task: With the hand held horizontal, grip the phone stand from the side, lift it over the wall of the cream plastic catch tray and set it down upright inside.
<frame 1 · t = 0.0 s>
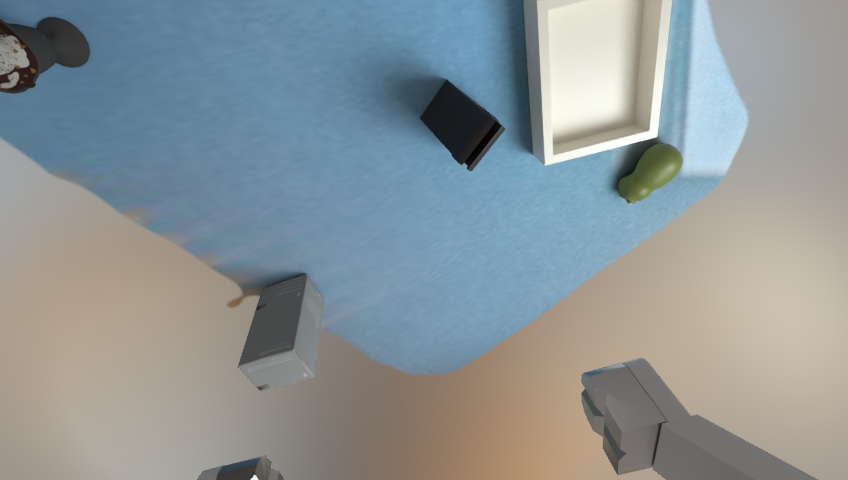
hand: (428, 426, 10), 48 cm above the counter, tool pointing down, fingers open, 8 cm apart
phone stand: (458, 117, 55), on the counter
sundae: (65, 43, 44), on the counter
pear: (638, 169, 63), on the counter
skincare box: (293, 295, 66), on the counter
catch tray: (586, 70, 54), on the counter
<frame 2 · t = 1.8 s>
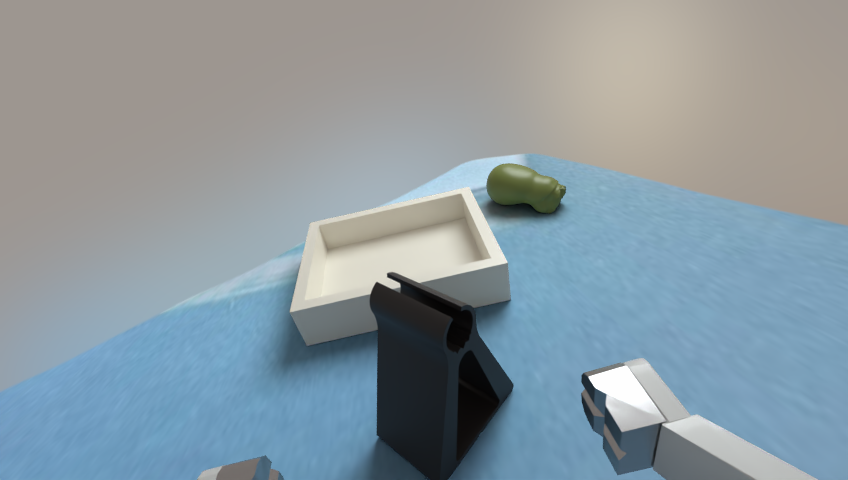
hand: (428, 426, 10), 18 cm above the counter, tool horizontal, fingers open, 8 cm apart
phone stand: (447, 413, 30), on the counter
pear: (526, 205, 52), on the counter
catch tray: (402, 272, 45), on the counter
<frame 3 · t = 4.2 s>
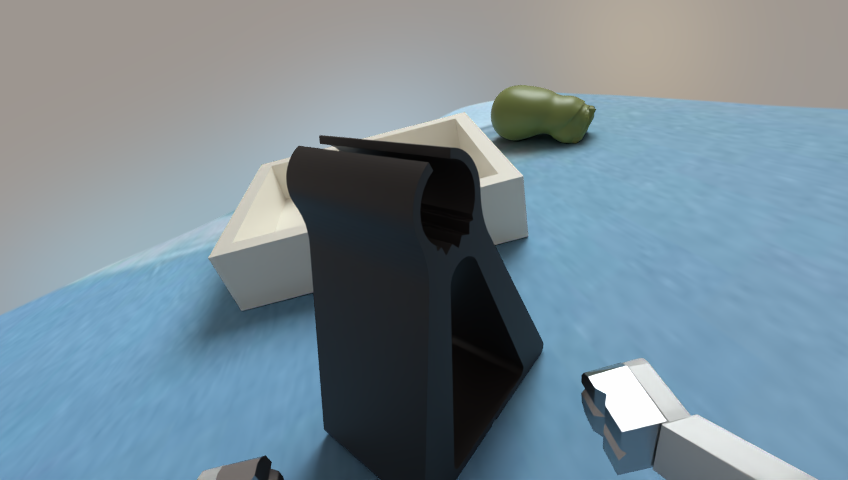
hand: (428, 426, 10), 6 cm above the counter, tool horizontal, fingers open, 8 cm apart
phone stand: (440, 392, 19), on the counter
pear: (542, 139, 41), on the counter
catch tray: (379, 217, 34), on the counter
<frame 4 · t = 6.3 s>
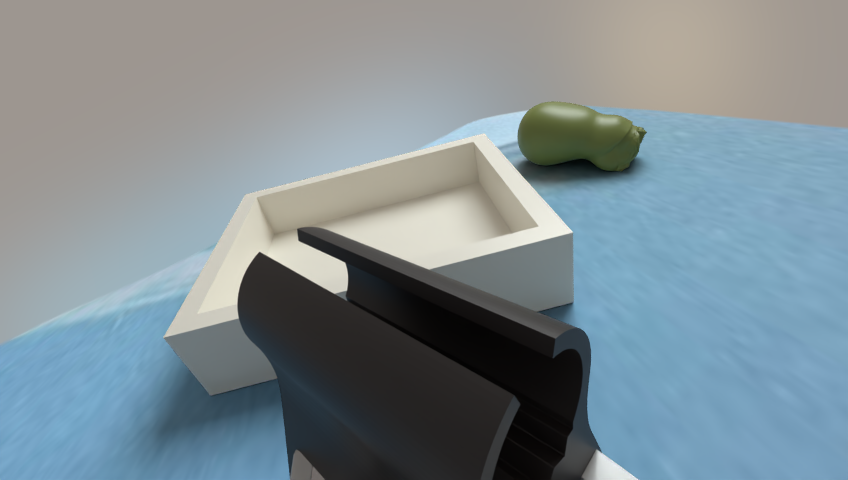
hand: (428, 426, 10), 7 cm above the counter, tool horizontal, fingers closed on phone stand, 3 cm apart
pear: (578, 164, 35), on the counter
catch tray: (384, 263, 28), on the counter
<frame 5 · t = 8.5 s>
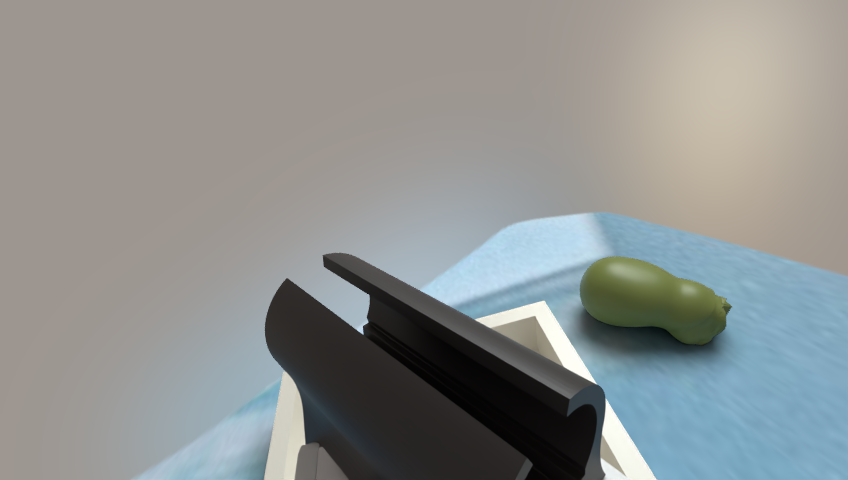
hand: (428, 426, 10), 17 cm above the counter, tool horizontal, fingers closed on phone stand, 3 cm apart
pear: (647, 321, 32), on the counter
catch tray: (446, 475, 25), on the counter
when the fingers open (9 cm above the counter, at t = 10.9 s): phone stand moves 3 cm, resting on catch tray.
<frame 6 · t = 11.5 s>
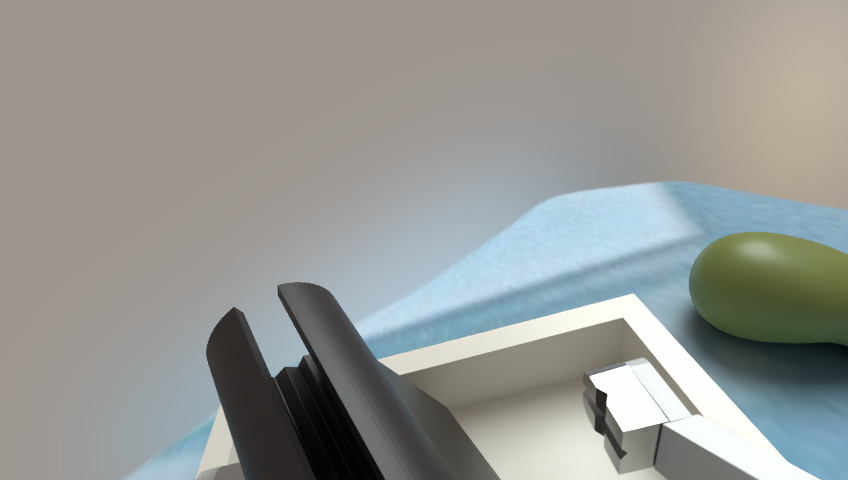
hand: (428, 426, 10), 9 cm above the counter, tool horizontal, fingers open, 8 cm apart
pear: (798, 333, 21), on the counter
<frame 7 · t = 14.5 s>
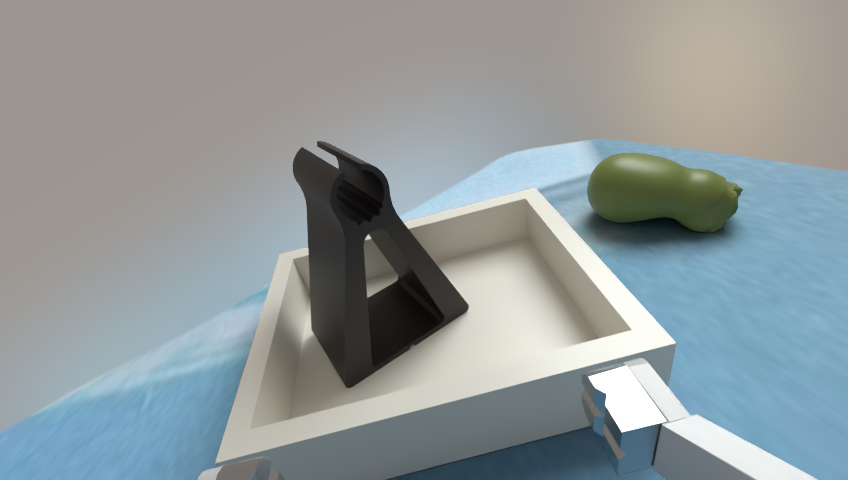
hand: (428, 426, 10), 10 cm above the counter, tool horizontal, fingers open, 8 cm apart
phone stand: (390, 324, 27), point 1 cm above the counter, touching catch tray
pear: (655, 220, 32), on the counter
catch tray: (436, 338, 26), on the counter
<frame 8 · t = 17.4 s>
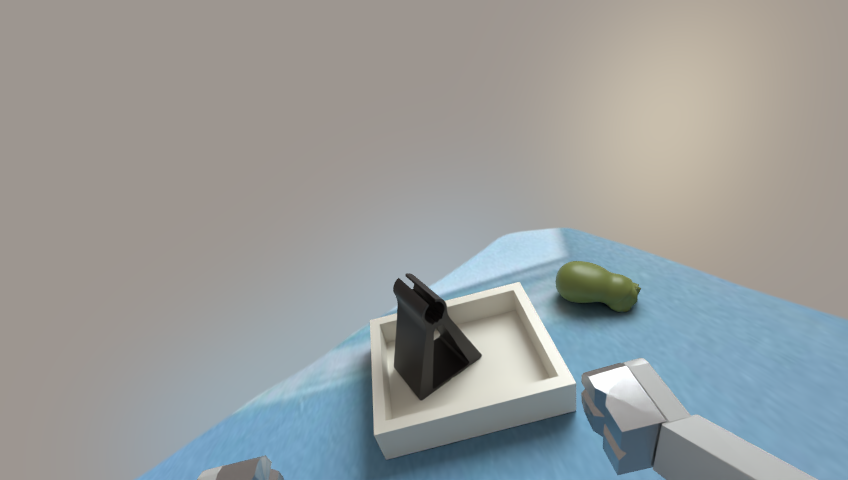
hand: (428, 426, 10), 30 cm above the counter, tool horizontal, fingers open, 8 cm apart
phone stand: (438, 364, 48), point 1 cm above the counter, touching catch tray
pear: (596, 300, 53), on the counter
catch tray: (463, 372, 47), on the counter
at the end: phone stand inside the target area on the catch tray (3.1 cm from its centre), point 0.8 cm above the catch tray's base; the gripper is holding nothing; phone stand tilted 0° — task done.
